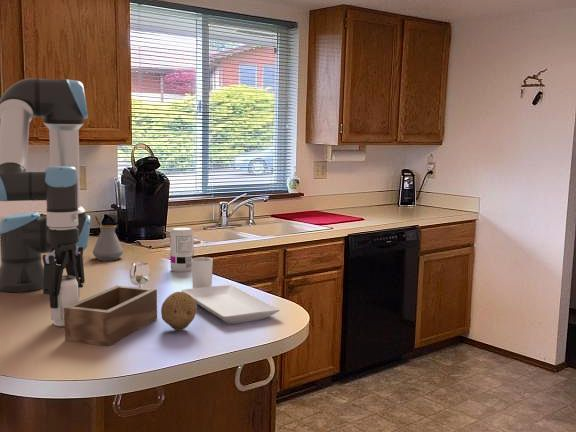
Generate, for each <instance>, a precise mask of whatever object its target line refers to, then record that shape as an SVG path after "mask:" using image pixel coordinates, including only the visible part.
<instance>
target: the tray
mask: <svg viewBox="0 0 576 432" xmlns="http://www.w3.org/2000/svg"><path fill="white" fill-rule="evenodd" d="M180 292H184V293H187V294H189V295H190V296H191V297H192V298H193V299H194V300H195V302H196V305H198V306H200V307H202V308H203V309H204V310H206V311H207V312H209V313H211V314H213V315H214V316H216V317H217V318H218V319H220V320H222V321H223V322H225V323H226V324H229V325H230V324H238V323H245V322H246V323H247V322H251V321H252V322H253V321H261V320H263V319H265V318H268V317H269V316H270V317H271V316H273V315H275V314H277V313H278V312H280V308H278V307H275V306H274V305H271V304H269V303H267V302H266V301H264V300H262V299H260V298H258V297H256V296H254V295H252V294H250V293H248V292H247V291H244V290H242V289H241V288H239V287H237V286H235V285H233V284H232V285H231V284H228V285H226V284H224V285H216V286H213V285H212V287H202V288H193V287H192V288H186V289H181V290H180Z"/></svg>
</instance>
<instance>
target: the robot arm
mask: <svg viewBox="0 0 576 432" xmlns="http://www.w3.org/2000/svg"><path fill="white" fill-rule="evenodd" d="M85 94H86V93H85V88H84V84H83V83H82V82H81V81H79V80H74V79H67V78H65V79H57V78H55V79H54V78H34V77H30V78H25V79H21V80H18V81H17V82H15V83H13V84H12V85H11V86H9V87H8V88H7V89H6V90H5V91H4V93H3V94H2V95H1V97H0V202H19V201H20V202H24V201H25V202H26V201H28V202H29V201H46V215H45V216H44V215H43V216H41V214H40V212H39V211H27V212H20V213H12V214H9V215H5V216H4V217H2V218H1V220H0V259H1V260H0V262H1V264H0V292H5V293H24V292H32V291H37V290H40V289H42V291H43V293H42V294H43V295H47V296H49V307H50V317H51V318H50V320H51V321H52V320H58V321H61V320H62V295H59V292H60V286H61V280H62V276H64V275H63V274H64V270H65V271H66V275H70V276H75V277H76V280H77V282H78V301H80V288H83V287H84V284H85V270H84V269H85V268H84V257H83V256H84V251H85V250H86V249H87V247H88V245H89V240H90V239H89V237H90V228H91V215H88V214H87V212H86V211H87V210H86V209H85V208H84V207H83V206H82V205H81V180H80V179H81V171H80V142H79V141H80V137H79V130H80V129H81V128H82V127H83V126H84V120H86V119H89V115H88V114H89V112H88V107H87V106H88V105H87V101H86V100H87V99H86V95H85ZM33 118H38V119H39V118H41V119H42V118H43V125H44V126H45V127H46V128H47V129H48V130H49V134H48V135H49V160H50V161H49V162H50V163H49V164H50V165H49V166H48V167H47V168H45V171H28V159H29V158H28V155H29V151H28V150H29V133H30V130H29V129H30V122H32V120H33ZM42 254H43V255H42ZM42 262H43V263H42Z"/></svg>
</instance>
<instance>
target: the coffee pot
mask: <svg viewBox="0 0 576 432" xmlns="http://www.w3.org/2000/svg"><path fill="white" fill-rule="evenodd" d="M92 219H93V221H97V224H98V228H99V230H100V233H99V235H98V238H97V239H96V243H95V245H94V247H93V250H92V255H93V256H94V257H95V258H97V260H98V261H105V262H106V261H107V262H110V261H115V260H119V259H120V257H121V256H122V255H123V253H124V249H123V247H122V245H121V242H120V240H119V238H118V236H117V234H116V228H117V225H115V224H114V225H113V224H102V222H101V220H100V218H99V216H96V215H95V216H94V217H93V218H92Z"/></svg>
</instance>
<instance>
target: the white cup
mask: <svg viewBox="0 0 576 432" xmlns="http://www.w3.org/2000/svg"><path fill="white" fill-rule="evenodd" d="M191 262H192V270H191V278H192V279H191V280H192V283H191V284H192V289H193V288H202V287H213V285H212V284H213V283H212V281H213V262H214V258H211V257H202V256H201V257H194V258H193V259H191Z"/></svg>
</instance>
